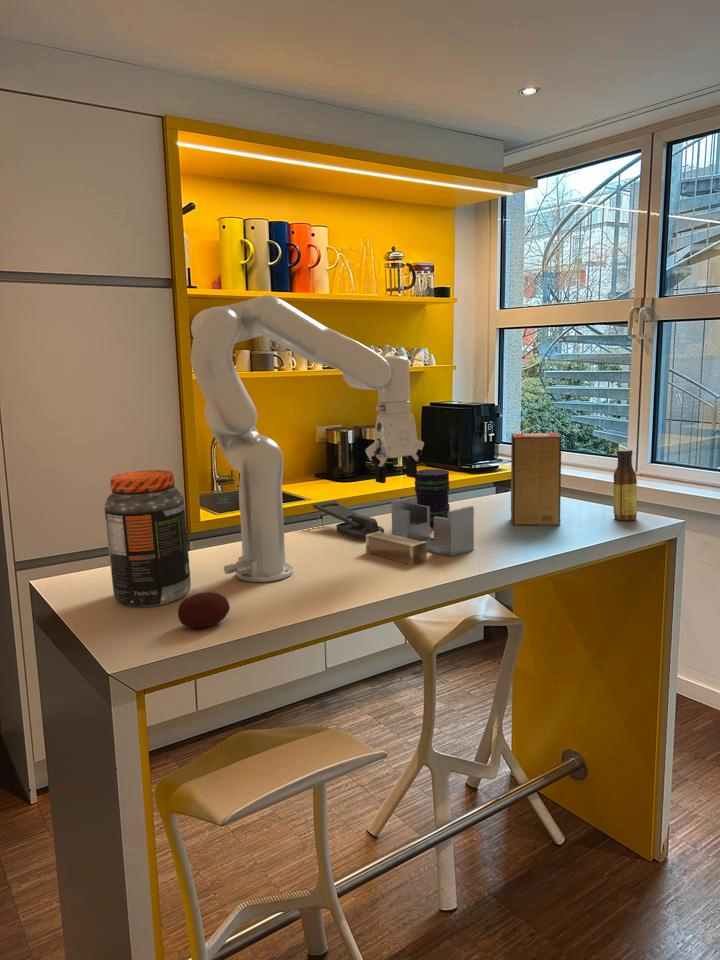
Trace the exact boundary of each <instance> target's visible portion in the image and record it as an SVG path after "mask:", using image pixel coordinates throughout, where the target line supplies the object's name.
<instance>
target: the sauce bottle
mask: <svg viewBox="0 0 720 960" xmlns="http://www.w3.org/2000/svg"><path fill="white" fill-rule="evenodd" d="M616 456H617V467H616V469H615V470H614V472H613V485H612V487H613V515H614V516H613V517H614V519H615V520H617V521H622V522H623V521H624V522H630V521H631V522H632V521H634V520H636V519H637V514H638V501H637V500H638V495H637V494H638V491H637V489H638V485H637V483H638V482H637V475H636V472H635V471H634V468H633V463H632V461H633V460H632V459H633V458H632V457H633V449H629V448H627V449H625V448H622V449H617V450H616Z"/></svg>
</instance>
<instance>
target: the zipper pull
mask: <svg viewBox="0 0 720 960" xmlns="http://www.w3.org/2000/svg"><path fill="white" fill-rule="evenodd" d="M312 508H313V509H315V510H316V511H317V510H318V511H319V512H322V513H323V514H327V515H328V516H330V517H334V518H335V519H338V520H339V521H341V522H340V523H338V524H336V533H337V532H338V533H337V534H339V533H340V534H339V535H341V534H342V535H341V536H344V535H345V536H344V537H346V536H347V538H349V539H352V540H354V541H358V542H360V541H361V542H366V535H367V534H371V533H375V532H379V531H380V532H382V533H385V529H384V527H382V526H379V524H378V521H377V520H376V519H375V518H372V517H370V516H367V515H362V514H358V513H356V512H355V511H354V510H351V509H350V508H348V507H346V506H344V505H343V504H341V503H339V502H337V501H335V500H328V501H322V502H317V503H314V504H313V505H312Z"/></svg>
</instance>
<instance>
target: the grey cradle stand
mask: <svg viewBox="0 0 720 960" xmlns="http://www.w3.org/2000/svg"><path fill="white" fill-rule="evenodd" d="M390 503H391V506H390V507H391V535H396V536H400V537H404V538H409V539H413V540H417V541H422V542H423V541H424V542H427V552H428V551H429V552H428V553H432V552H433V553H434V554H436V553H437V555H441V556H446V557H450V558H453V557H456V556H459V555H462V554H466V553H468V552H472V551H474V550H475V548H474V547H475V545H474V543H475V542H474V541H475V536H474V535H475V529H474V526H475V525H474V522H475V519H474V517H475V516H474V515H475V514H474V513H475V512H474V511H475V509H474V507H475V506H473V505H468V506H464V507H461V508H457V509H453V510H450V511H448V519H447V518H442V517H437V516H436V517H434V527H433V537H431V527H430V507H429V506H424V505H418V504H417V497H416V495H415V496H410V497H406V498H401V499H396V500H391V502H390ZM471 550H472V551H471ZM465 552H466V553H465ZM433 553H432V554H433Z"/></svg>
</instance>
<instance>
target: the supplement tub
mask: <svg viewBox="0 0 720 960" xmlns="http://www.w3.org/2000/svg"><path fill="white" fill-rule="evenodd" d="M174 476H175V475H174V472H172V471H170V470H164V469H163V470H162V469H153V470H152V469H148V470H138V471H137V470H136V471H128V472H123V473H118V474H115V475H113V476H111V477H110V479H109V481H110V485H109V486H110V488H111V489H110V490H111V493H110V494H109V496H108V497H107V498H106V500H105V503H104V518H105V525H106V526H105V527H106V528H105V529H106V535H107V544H108V554H109V565H110V572H111V583H112V591H113V597H114V599H115V600H116V601H117V602H118V603H120V604H122V605H126V606H131V607H155V606H156V607H157V606H161V605H165V604H169V603H172V602H175V601H176V600H179V599H181V598H182V597H184V596H185V595H186V596H187V594H189V592H190V590H191V587H192V585H191V584H192V583H191V571H190V570H191V568H190V557H189V556H190V555H189V546H188V544H189V543H188V535H187V522H186V521H187V520H186V509H185V500H184V497H183V494H182V493H181V491H179V489H177V488H176V485H175V477H174Z"/></svg>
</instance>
